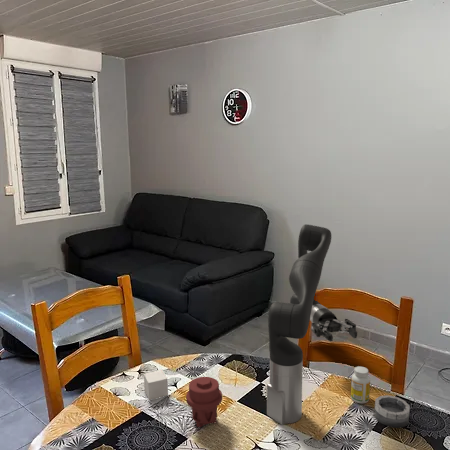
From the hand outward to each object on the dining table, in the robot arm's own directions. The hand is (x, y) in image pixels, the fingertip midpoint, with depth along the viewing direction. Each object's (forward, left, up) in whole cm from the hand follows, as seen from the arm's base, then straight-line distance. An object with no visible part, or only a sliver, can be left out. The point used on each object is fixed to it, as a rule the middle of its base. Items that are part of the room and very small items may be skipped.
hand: (343, 337), depth 137 cm
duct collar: (-6, -21, -15) cm, 27 cm away
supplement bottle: (-5, -10, -15) cm, 19 cm away
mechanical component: (-48, +11, -15) cm, 51 cm away
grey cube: (-52, +32, -15) cm, 63 cm away
